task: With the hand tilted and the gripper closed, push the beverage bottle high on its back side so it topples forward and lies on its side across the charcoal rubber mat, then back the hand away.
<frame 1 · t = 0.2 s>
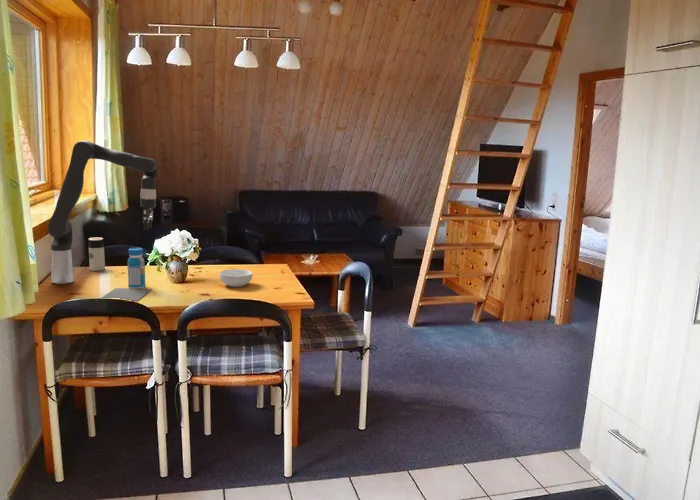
hand: (147, 229, 299), 29 cm above the table, tool pointing down, fingers open, 8 cm apart
cereal bowl: (236, 285, 308), on the table
travel mug: (97, 269, 332), on the table
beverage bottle: (137, 287, 298), on the table
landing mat: (126, 295, 283), on the table
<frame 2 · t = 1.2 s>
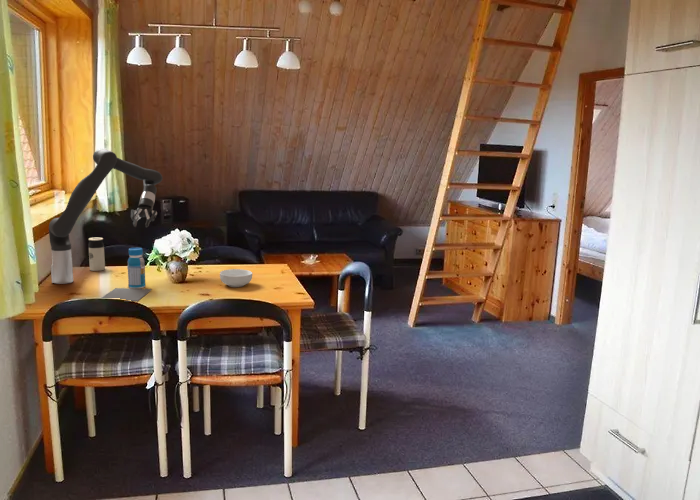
hand: (140, 226, 312), 28 cm above the table, tool tilted 45°, fingers open, 5 cm apart
nothing on the table moved.
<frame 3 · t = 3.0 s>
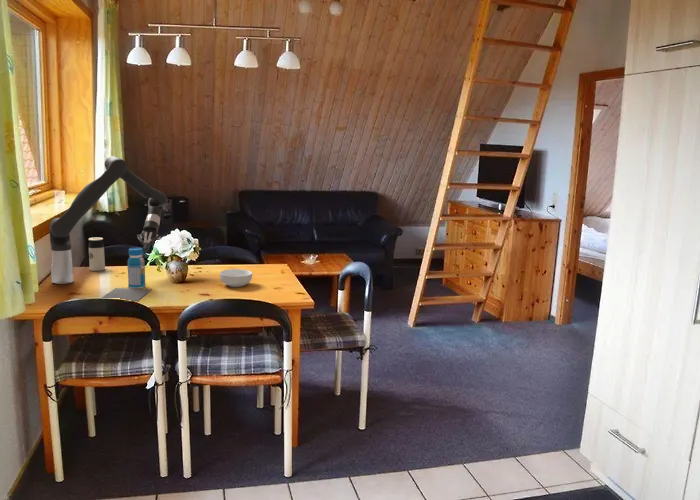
hand: (145, 250, 310), 16 cm above the table, tool tilted 45°, fingers closed
nothing on the table moved.
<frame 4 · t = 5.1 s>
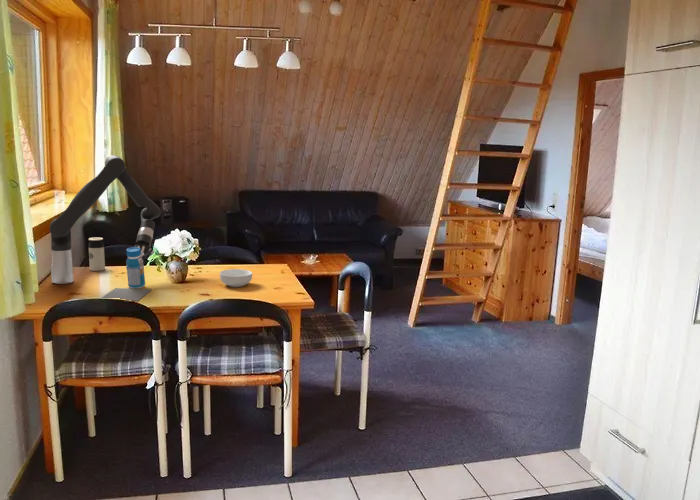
hand: (138, 265, 298), 11 cm above the table, tool tilted 45°, fingers closed
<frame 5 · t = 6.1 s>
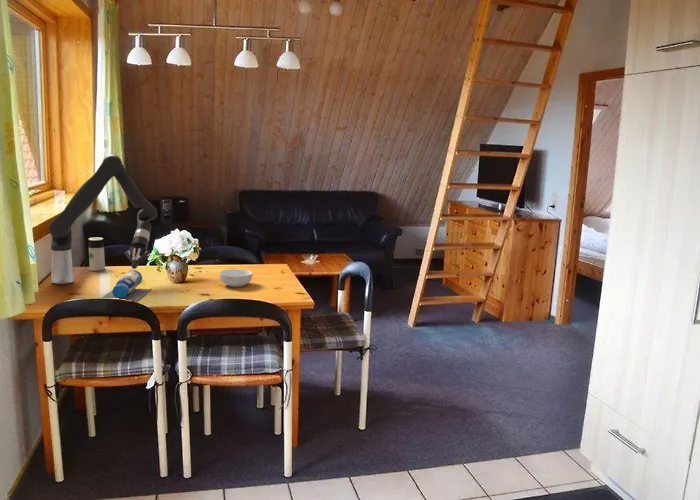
hand: (133, 267, 292), 11 cm above the table, tool tilted 45°, fingers closed
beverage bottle: (134, 276, 292), point 6 cm above the table, touching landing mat
everything else where it was.
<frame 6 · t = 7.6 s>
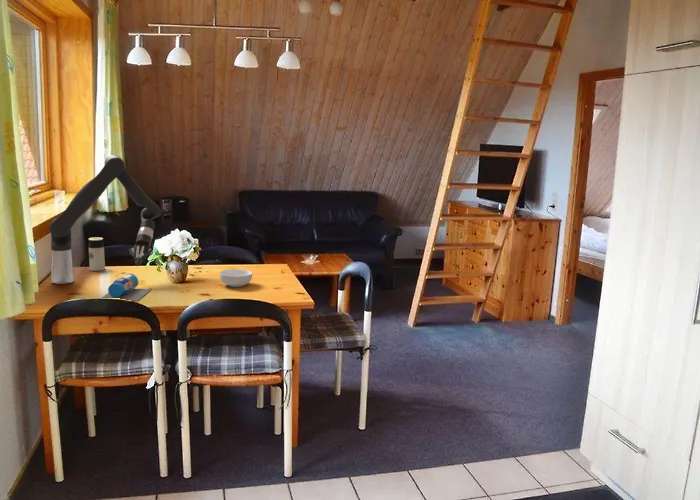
hand: (137, 265, 297), 11 cm above the table, tool tilted 45°, fingers closed
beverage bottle: (130, 280, 294), point 4 cm above the table, touching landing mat
everything else where it was.
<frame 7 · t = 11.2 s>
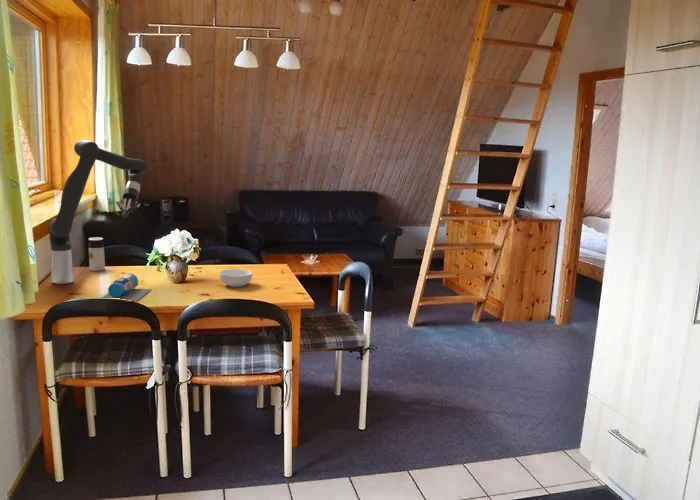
hand: (124, 217, 305), 34 cm above the table, tool tilted 45°, fingers closed
nothing on the table moved.
at the end: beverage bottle tilted 89°; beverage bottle inside the target area (2.9 cm from its centre), point 4.1 cm above the table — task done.
